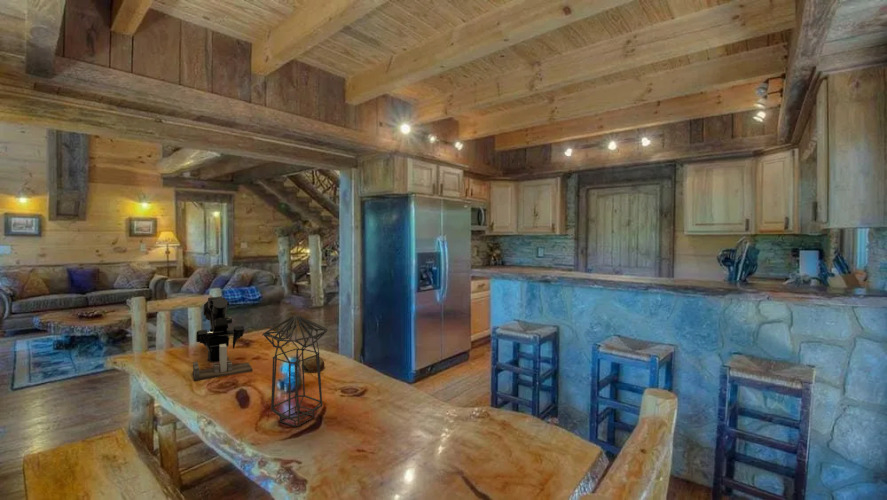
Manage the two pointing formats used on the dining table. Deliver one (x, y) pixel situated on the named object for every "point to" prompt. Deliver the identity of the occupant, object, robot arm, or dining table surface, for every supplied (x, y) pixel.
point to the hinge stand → (216, 371)
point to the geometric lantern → (301, 323)
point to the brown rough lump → (312, 364)
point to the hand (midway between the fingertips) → (222, 349)
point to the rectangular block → (223, 357)
